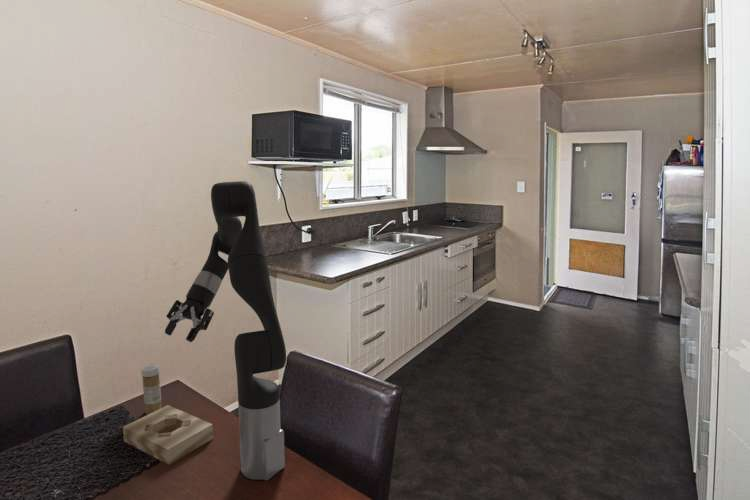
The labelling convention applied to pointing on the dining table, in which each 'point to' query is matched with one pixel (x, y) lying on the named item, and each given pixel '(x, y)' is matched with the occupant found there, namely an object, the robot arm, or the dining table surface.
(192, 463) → the dining table surface
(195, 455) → the dining table surface
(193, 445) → the spice caddy
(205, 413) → the dining table surface
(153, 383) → the sprinkles bottle
